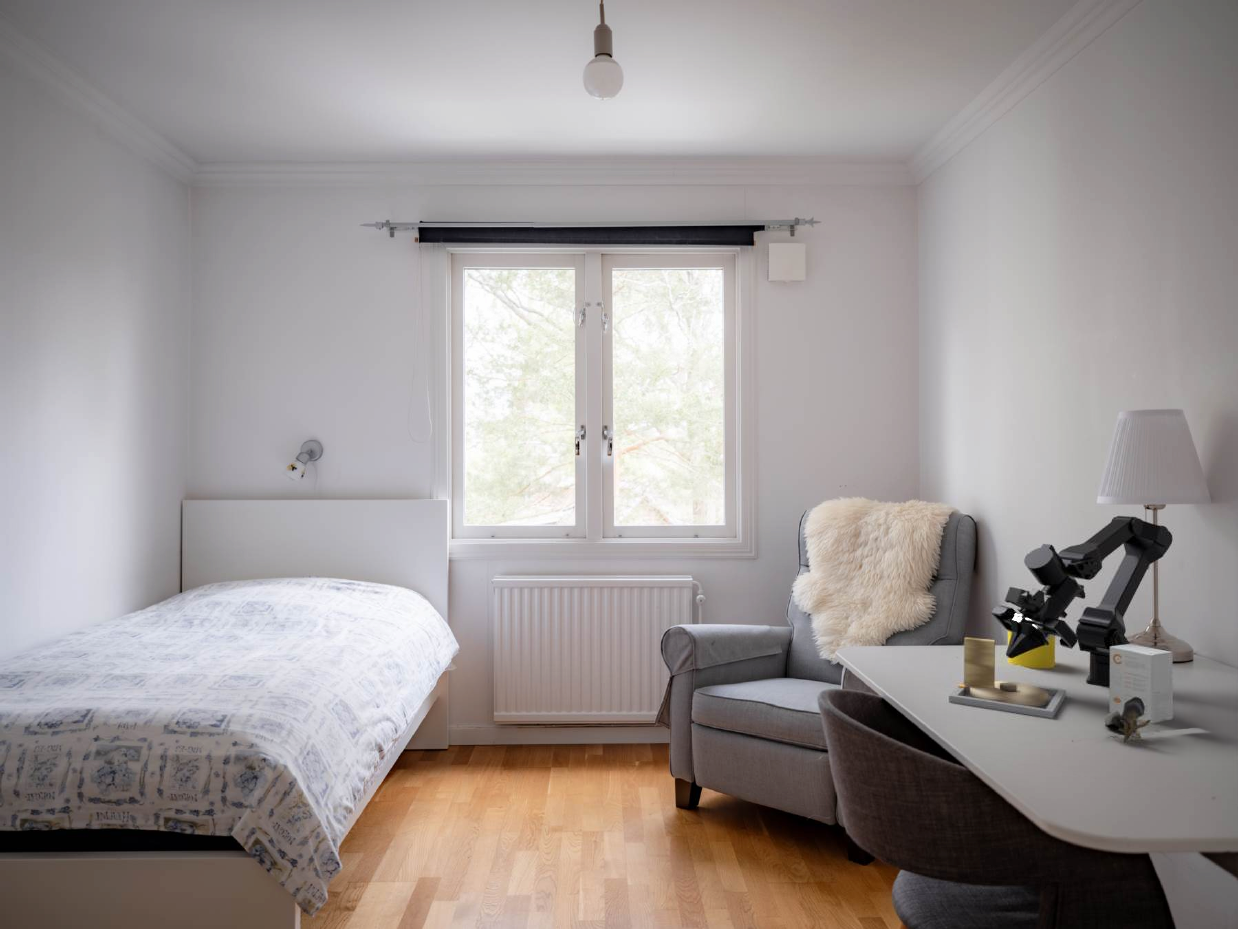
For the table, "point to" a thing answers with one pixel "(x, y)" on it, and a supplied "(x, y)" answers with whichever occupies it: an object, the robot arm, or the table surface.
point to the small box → (1142, 680)
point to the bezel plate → (1048, 711)
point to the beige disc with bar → (983, 677)
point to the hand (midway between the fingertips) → (1008, 656)
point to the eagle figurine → (1128, 718)
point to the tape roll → (1036, 656)
